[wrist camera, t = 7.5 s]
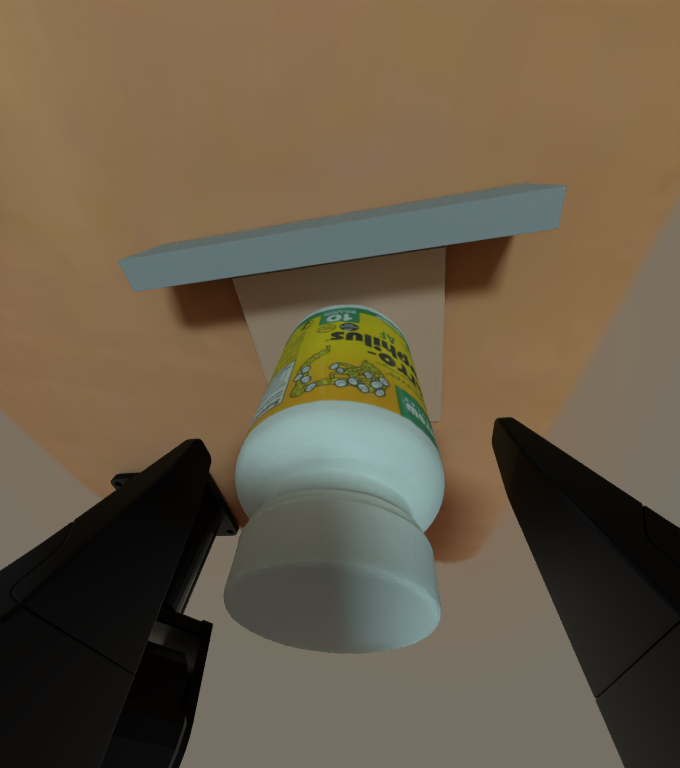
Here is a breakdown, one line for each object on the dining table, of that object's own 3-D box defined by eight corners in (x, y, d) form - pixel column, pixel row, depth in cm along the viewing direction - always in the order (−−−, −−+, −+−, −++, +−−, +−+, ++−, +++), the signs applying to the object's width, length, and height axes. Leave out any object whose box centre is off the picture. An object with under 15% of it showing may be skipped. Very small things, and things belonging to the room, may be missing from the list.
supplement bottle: (266, 371, 14) (143, 620, 6) (328, 271, 12) (254, 483, 4) (362, 424, 16) (361, 682, 8) (437, 346, 13) (554, 617, 5)
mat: (439, 415, 16) (441, 421, 15) (285, 426, 17) (284, 431, 16) (443, 244, 11) (446, 247, 11) (235, 275, 12) (232, 278, 12)
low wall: (520, 217, 11) (558, 228, 8) (172, 272, 12) (134, 291, 10) (525, 182, 10) (566, 185, 8) (160, 245, 12) (117, 260, 10)
